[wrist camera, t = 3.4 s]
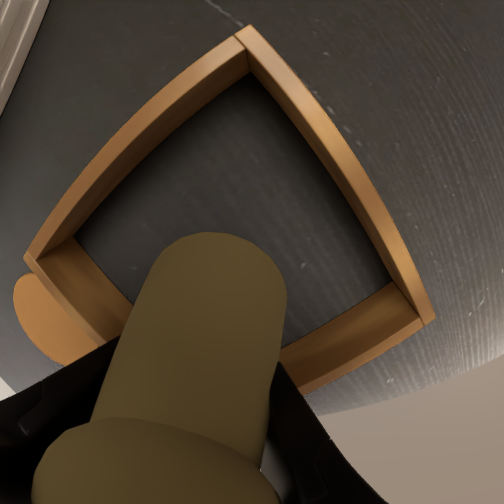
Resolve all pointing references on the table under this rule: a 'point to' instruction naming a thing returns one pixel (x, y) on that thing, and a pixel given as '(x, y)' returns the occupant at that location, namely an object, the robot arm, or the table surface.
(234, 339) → the pepper shaker
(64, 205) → the wooden frame
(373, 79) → the table surface
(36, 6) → the plate stack
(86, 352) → the coaster
